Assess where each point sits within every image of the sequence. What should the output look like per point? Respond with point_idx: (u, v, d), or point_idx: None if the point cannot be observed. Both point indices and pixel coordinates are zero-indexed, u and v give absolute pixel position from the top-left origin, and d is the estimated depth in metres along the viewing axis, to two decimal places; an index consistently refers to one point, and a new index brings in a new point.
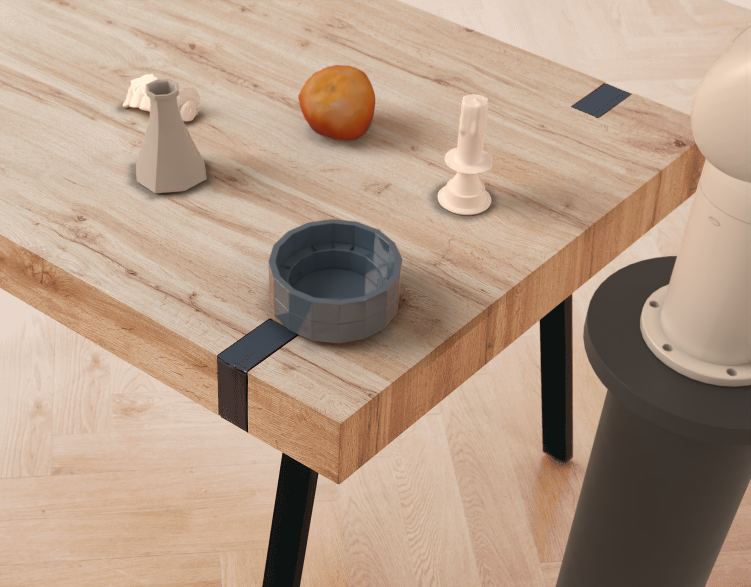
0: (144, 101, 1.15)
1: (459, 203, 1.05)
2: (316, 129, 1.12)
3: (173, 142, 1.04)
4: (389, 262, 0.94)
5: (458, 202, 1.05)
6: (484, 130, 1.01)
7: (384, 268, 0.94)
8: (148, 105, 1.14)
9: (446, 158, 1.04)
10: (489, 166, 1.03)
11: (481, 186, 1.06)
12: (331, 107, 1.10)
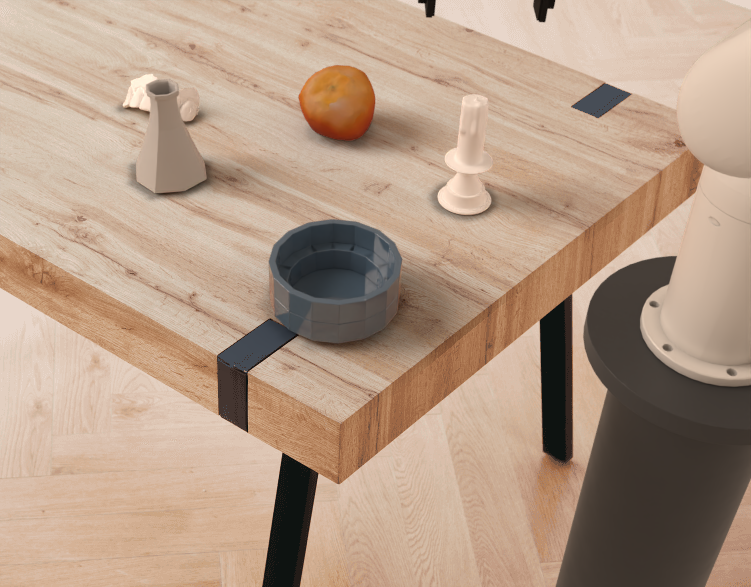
0: (144, 101, 1.15)
1: (459, 203, 1.05)
2: (316, 129, 1.12)
3: (173, 142, 1.04)
4: (389, 262, 0.94)
5: (458, 202, 1.05)
6: (484, 130, 1.01)
7: (384, 268, 0.94)
8: (148, 105, 1.14)
9: (446, 158, 1.04)
10: (489, 166, 1.03)
11: (481, 186, 1.06)
12: (331, 107, 1.10)
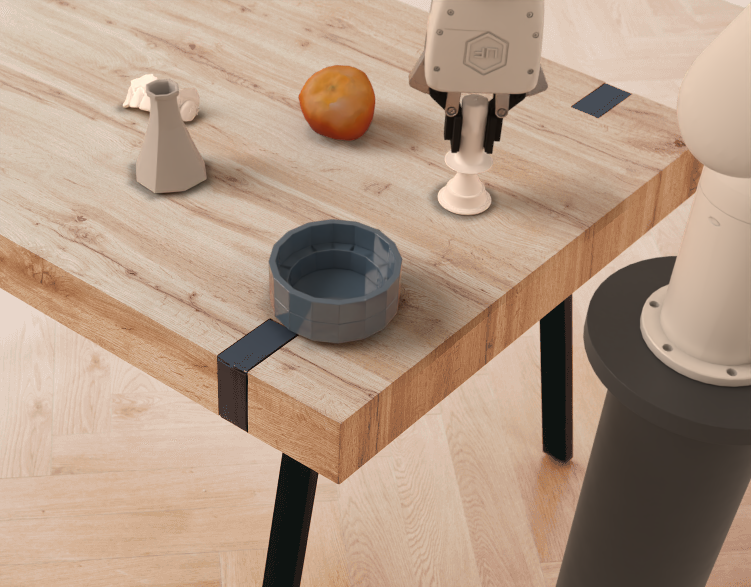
0: (144, 101, 1.15)
1: (459, 203, 1.05)
2: (316, 129, 1.12)
3: (173, 142, 1.04)
4: (389, 262, 0.94)
5: (458, 202, 1.05)
6: (484, 130, 1.01)
7: (384, 268, 0.94)
8: (148, 105, 1.14)
9: (446, 158, 1.04)
10: (489, 166, 1.03)
11: (481, 186, 1.06)
12: (331, 107, 1.10)
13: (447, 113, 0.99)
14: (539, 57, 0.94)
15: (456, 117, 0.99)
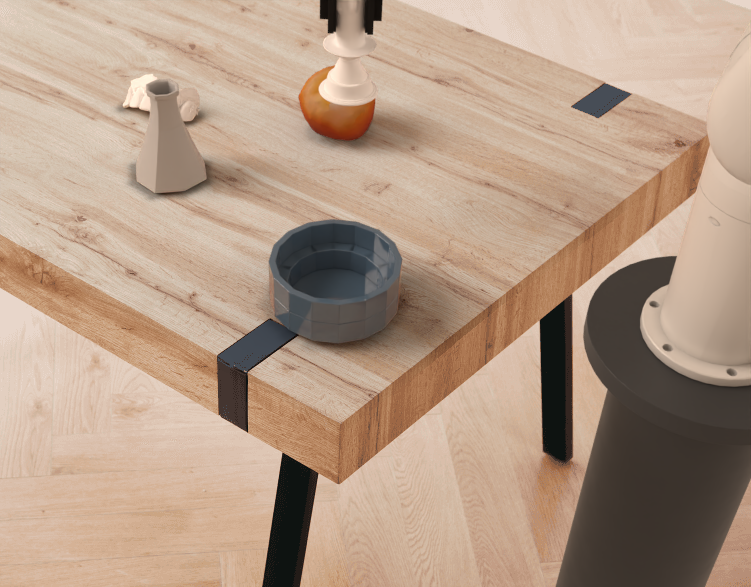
0: (144, 101, 1.15)
1: (340, 93, 0.95)
2: (316, 129, 1.12)
3: (173, 142, 1.04)
4: (389, 262, 0.94)
5: (339, 92, 0.95)
6: (363, 7, 0.91)
7: (384, 268, 0.94)
8: (148, 105, 1.14)
9: (324, 41, 0.93)
10: (371, 50, 0.93)
11: (366, 75, 0.95)
12: (331, 107, 1.10)
13: None
14: None
15: None
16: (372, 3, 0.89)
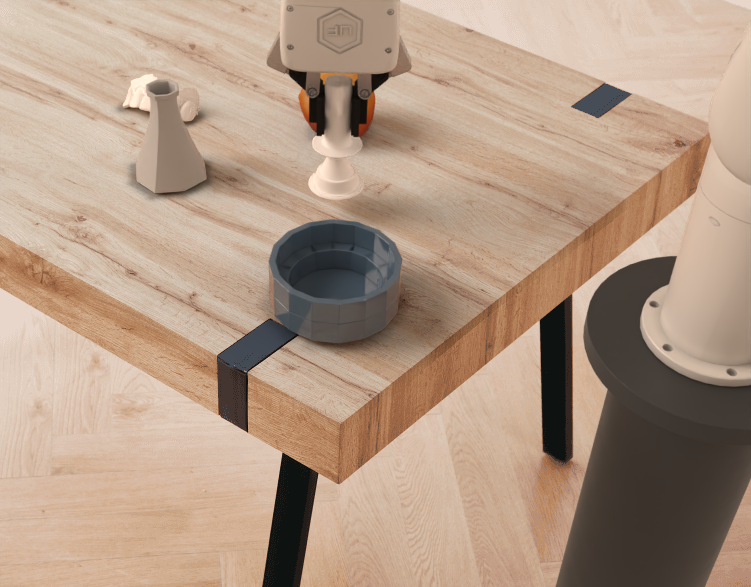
0: (144, 101, 1.15)
1: (328, 188, 1.01)
2: None
3: (173, 142, 1.04)
4: (389, 262, 0.94)
5: (327, 187, 1.01)
6: (349, 112, 0.97)
7: (384, 268, 0.94)
8: (148, 105, 1.14)
9: (313, 141, 1.00)
10: (357, 150, 0.99)
11: (352, 171, 1.02)
12: None
13: (308, 94, 0.95)
14: (396, 35, 0.90)
15: (317, 98, 0.95)
16: (357, 110, 0.96)
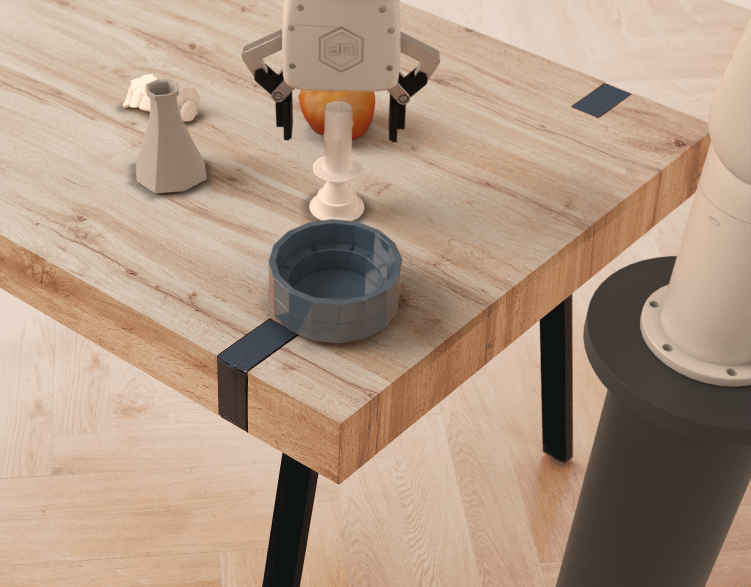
0: (144, 101, 1.15)
1: (329, 212, 1.03)
2: (316, 129, 1.12)
3: (173, 142, 1.04)
4: (389, 262, 0.94)
5: (328, 211, 1.03)
6: (349, 138, 0.99)
7: (384, 268, 0.94)
8: (148, 105, 1.14)
9: (314, 166, 1.02)
10: (357, 174, 1.01)
11: (352, 194, 1.04)
12: None
13: (272, 96, 0.95)
14: (397, 53, 0.91)
15: (284, 102, 0.95)
16: (396, 115, 0.96)
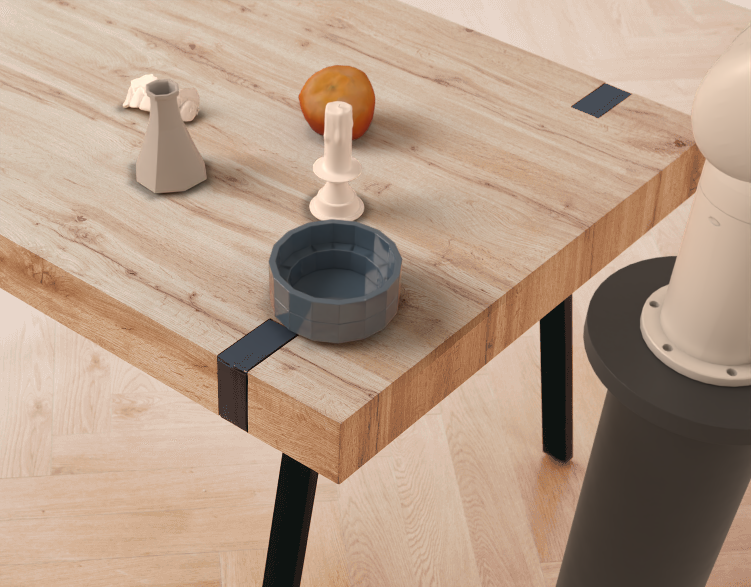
0: (144, 101, 1.15)
1: (329, 212, 1.03)
2: (316, 129, 1.12)
3: (173, 142, 1.04)
4: (389, 262, 0.94)
5: (328, 211, 1.03)
6: (349, 138, 0.99)
7: (384, 268, 0.94)
8: (148, 105, 1.14)
9: (314, 166, 1.02)
10: (357, 174, 1.01)
11: (352, 194, 1.04)
12: None
13: None
14: None
15: None
16: None
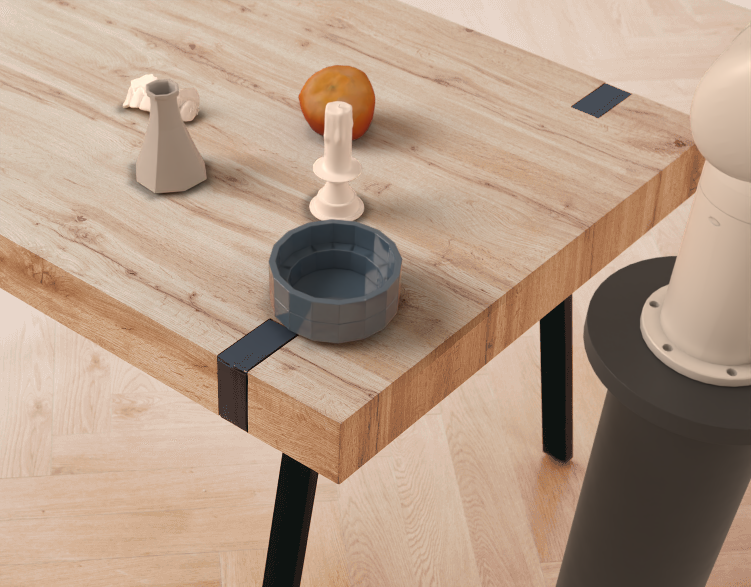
0: (144, 101, 1.15)
1: (329, 212, 1.03)
2: (316, 129, 1.12)
3: (173, 142, 1.04)
4: (389, 262, 0.94)
5: (328, 211, 1.03)
6: (349, 138, 0.99)
7: (384, 268, 0.94)
8: (148, 105, 1.14)
9: (314, 166, 1.02)
10: (357, 174, 1.01)
11: (352, 194, 1.04)
12: None
13: None
14: None
15: None
16: None
